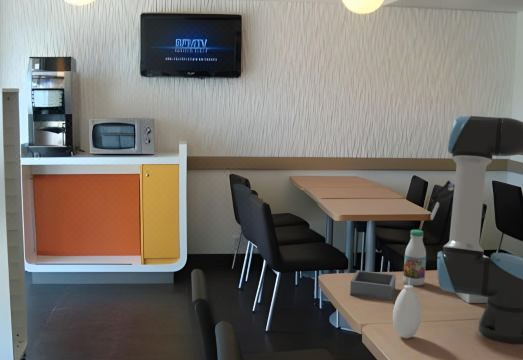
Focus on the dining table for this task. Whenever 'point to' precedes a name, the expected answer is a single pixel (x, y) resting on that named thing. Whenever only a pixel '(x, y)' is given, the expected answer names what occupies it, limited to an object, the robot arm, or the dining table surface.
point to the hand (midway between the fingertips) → (449, 224)
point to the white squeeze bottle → (407, 312)
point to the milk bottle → (415, 259)
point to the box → (373, 285)
